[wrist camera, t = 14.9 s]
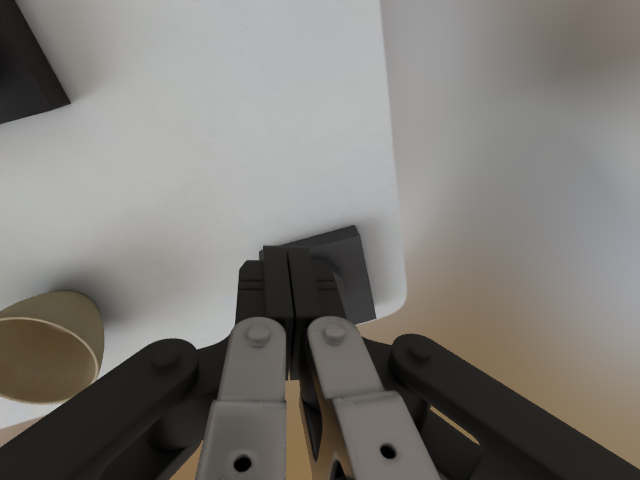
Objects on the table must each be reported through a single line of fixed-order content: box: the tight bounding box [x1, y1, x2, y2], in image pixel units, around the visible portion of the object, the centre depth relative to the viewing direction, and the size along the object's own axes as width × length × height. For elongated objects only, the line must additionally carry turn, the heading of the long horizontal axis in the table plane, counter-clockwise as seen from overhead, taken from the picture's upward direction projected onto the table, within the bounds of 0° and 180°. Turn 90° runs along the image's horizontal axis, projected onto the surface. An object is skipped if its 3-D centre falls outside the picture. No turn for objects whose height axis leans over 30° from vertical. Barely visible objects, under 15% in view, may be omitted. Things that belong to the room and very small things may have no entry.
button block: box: [259, 225, 376, 325], centre depth 38 cm, size 11×10×4 cm
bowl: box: [0, 291, 104, 405], centre depth 34 cm, size 10×10×7 cm
